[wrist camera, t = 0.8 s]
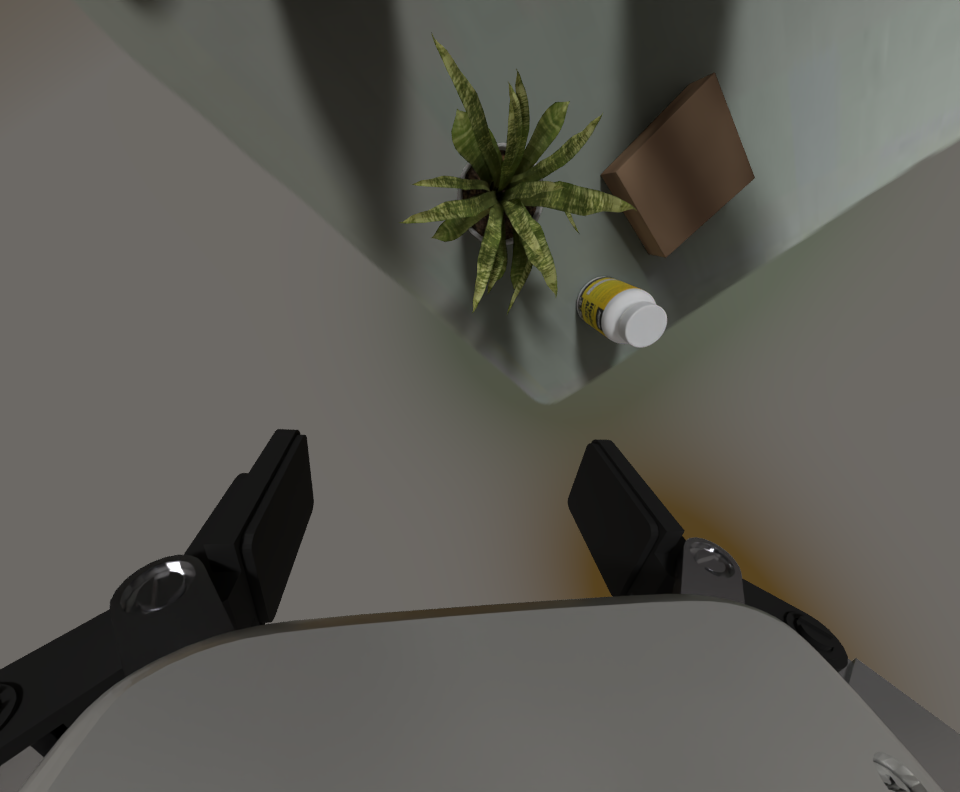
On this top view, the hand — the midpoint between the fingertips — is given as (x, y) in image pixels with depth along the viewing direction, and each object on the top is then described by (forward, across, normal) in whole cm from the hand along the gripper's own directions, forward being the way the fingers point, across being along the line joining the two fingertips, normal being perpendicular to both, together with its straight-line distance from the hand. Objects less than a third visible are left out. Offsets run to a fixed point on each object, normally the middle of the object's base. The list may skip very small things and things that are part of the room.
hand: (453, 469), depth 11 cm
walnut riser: (+28, -22, -14) cm, 38 cm away
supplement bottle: (+28, -19, -1) cm, 34 cm away
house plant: (+28, -3, -9) cm, 30 cm away
